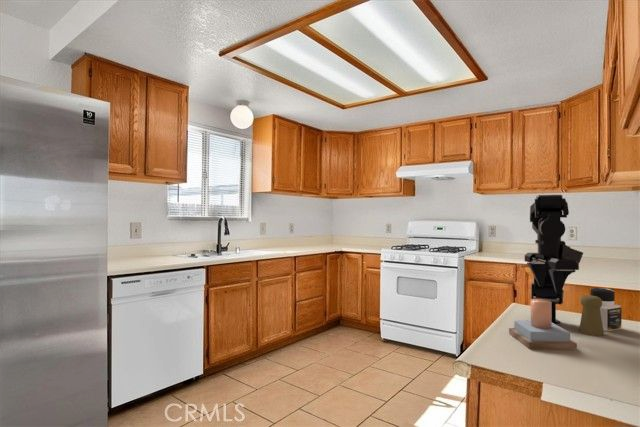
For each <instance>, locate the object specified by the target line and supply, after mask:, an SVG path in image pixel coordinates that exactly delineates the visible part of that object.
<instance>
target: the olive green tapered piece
mask: <svg viewBox="0 0 640 427" xmlns="http://www.w3.org/2000/svg"><path fill="white" fill-rule="evenodd" d="M580 304H581V305H582V310H581V316H580V317H581V318H580V321H579V322H580V323H579V329H578V332H580V333H581V334H583V335H587V336H592V337H593V336H594V337H603V336H605V334H604V333H605V332H604V330H603V325H602V319H601V312H600V307H601V306H602V300H601V298H599V297H597V296H592V295H590V294H586V295H582V296H581V298H580Z"/></svg>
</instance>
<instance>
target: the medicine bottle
mask: <svg viewBox="0 0 640 427" xmlns="http://www.w3.org/2000/svg"><path fill="white" fill-rule="evenodd" d="M589 295H592V296H597V297H599V298H601V300H602V306H601V307H600V312H601V319H602V325H603V331H605V332H611V331H617V330H622V328H623V327H622V325H623V323H622V322H623V321H622V312H623V310H622V305H619V304H615V300H616V299H615V295H616V294H615V291H614V290H612V289H611V288H605V287H593V288H591V289H590V294H589Z"/></svg>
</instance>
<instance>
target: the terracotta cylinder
mask: <svg viewBox="0 0 640 427" xmlns="http://www.w3.org/2000/svg"><path fill="white" fill-rule="evenodd" d="M530 321H531V326H533V327H536V328H541V329H550V328H552V308H551V301H549V300H544V299H531V298H530Z"/></svg>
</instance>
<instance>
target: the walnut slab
mask: <svg viewBox="0 0 640 427" xmlns="http://www.w3.org/2000/svg"><path fill="white" fill-rule="evenodd" d="M508 335H510V336H511V337H512V338H514V339H515V340H516V341H517V342H519V343H520V344H521V345H522V346H524V347H525V348H527V350H547V351H548V350H549V351H550V350H551V351H552V350H553V351H555V350H556V351H577V350H578V343H577V342H575V341H574V340H572V339H570V342H550V341H530V340H529V339H527V338H526V337H524V336H523V335H522V334H520V333H519V332H517V331H516V330H515V329H514V328H513V327H511V328H508Z"/></svg>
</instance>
